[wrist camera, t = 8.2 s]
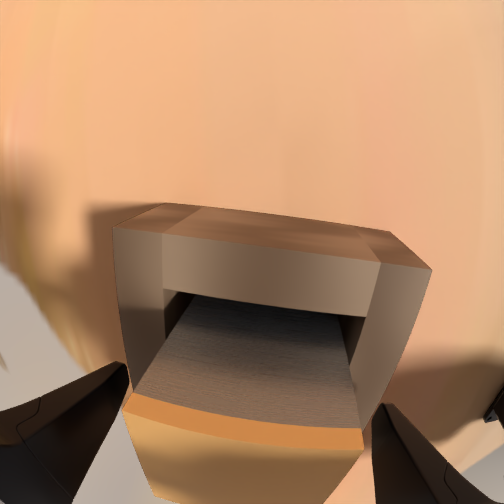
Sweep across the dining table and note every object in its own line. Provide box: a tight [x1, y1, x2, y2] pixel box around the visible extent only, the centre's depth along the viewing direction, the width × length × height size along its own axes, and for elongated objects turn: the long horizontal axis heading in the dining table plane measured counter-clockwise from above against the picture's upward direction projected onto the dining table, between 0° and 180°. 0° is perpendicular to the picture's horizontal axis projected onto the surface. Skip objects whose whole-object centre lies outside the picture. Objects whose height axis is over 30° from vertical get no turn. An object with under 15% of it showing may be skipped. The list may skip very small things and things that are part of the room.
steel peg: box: [122, 294, 364, 504], centre depth 10 cm, size 5×5×9 cm
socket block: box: [112, 203, 432, 432], centre depth 12 cm, size 10×10×4 cm
